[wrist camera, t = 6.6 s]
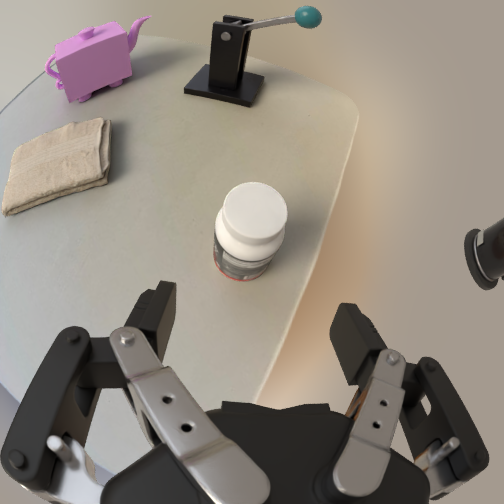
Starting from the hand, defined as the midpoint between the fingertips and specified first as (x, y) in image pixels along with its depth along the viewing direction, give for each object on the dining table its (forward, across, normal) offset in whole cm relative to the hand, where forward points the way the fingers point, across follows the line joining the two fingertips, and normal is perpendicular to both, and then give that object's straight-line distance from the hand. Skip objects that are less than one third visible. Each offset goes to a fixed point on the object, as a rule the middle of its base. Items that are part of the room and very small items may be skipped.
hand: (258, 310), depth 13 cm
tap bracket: (+36, +6, -17) cm, 40 cm away
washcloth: (+22, +27, -2) cm, 35 cm away
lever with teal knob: (+27, 0, -25) cm, 36 cm away
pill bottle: (+15, 0, +4) cm, 16 cm away
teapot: (+37, +29, -17) cm, 50 cm away
